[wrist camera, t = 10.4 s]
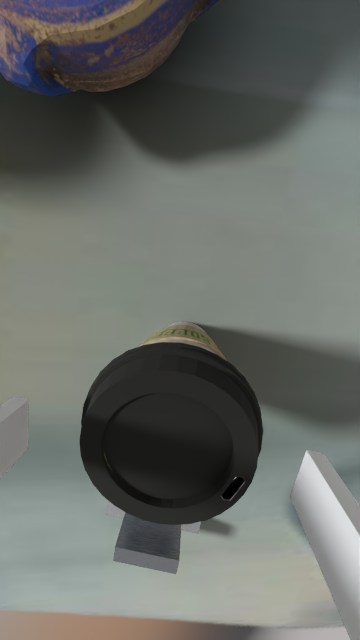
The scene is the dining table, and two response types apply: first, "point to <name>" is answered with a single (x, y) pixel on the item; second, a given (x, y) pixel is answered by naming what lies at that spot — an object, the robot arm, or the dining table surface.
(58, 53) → the bowl
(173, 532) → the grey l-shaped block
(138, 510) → the coffee cup
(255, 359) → the dining table surface
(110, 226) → the dining table surface
